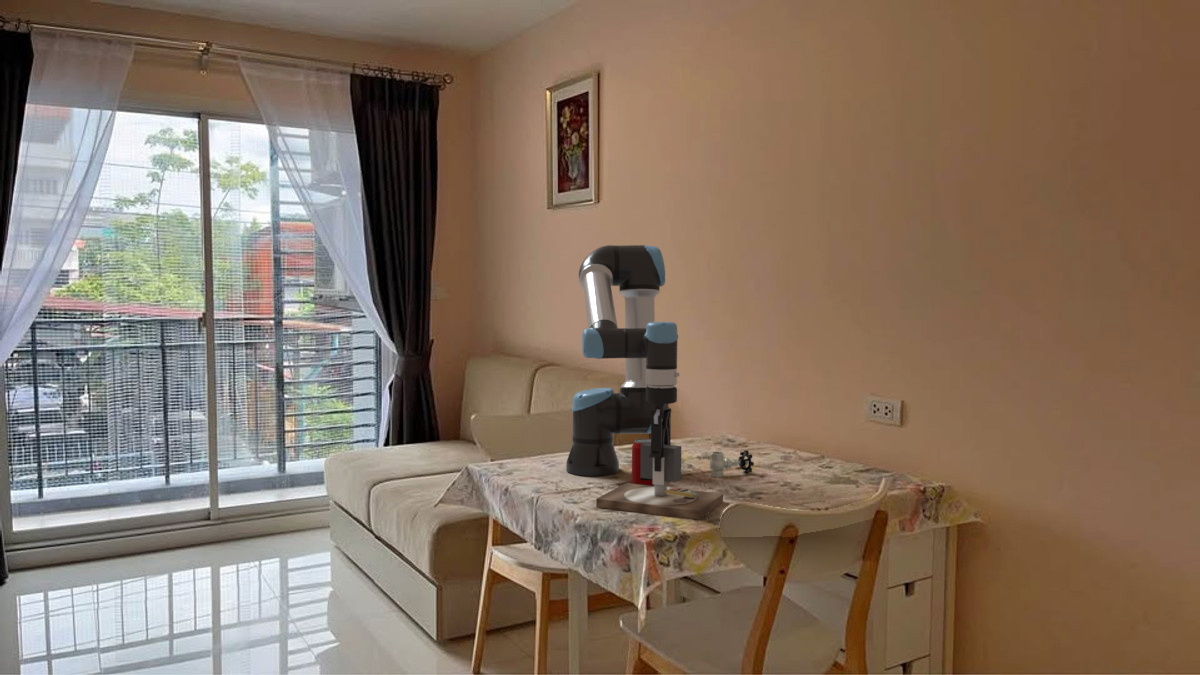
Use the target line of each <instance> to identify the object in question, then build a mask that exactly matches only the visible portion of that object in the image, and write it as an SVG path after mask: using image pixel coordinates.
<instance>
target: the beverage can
mask: <svg viewBox="0 0 1200 675" xmlns="http://www.w3.org/2000/svg"><path fill="white" fill-rule="evenodd" d="M648 442H649V443H651V438H636V439H635V440H634V442H633V443H632V446H631V484H639V485H648V486H654V484H653V479H647V478H640V468H641V445H642V444H645V443H648Z"/></svg>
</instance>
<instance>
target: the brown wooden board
mask: <svg viewBox="0 0 1200 675" xmlns="http://www.w3.org/2000/svg"><path fill="white" fill-rule="evenodd" d="M667 490H673V491H680V492H687V493H693V497H687V496H680V495H673V494H667V495H666V496H656V495H654V486H648V485H639V484H633V483H628V482H625V483H623V484H621V485H620V486H618V487H617V486H616V488H614V489H612V490H610V491H608V492H607V493H605V494H603V495H600V496H599V497H597V498H596V499H595V500H596V502H595V504H596V505H595V507H596V508H601V509H610V510H618V511H619V510H620V511H626V512H635V513H643V514H649V515H650V514H651V515H657V516H667V517H675V518H682V519H689V520H690V519H691V520H698V521H699V520H702V519H703V518H704V517H706V516H707V515H708V514H709V513H711V512H712V511H713V510H715V509H716V508H718V506H720V505H721V504H722V503H723V502H724V493H721V492H711V491H702V490H695V489H694V490H693V489H687V488H685V489H684V488H682V487H679V486H673V487H670V486H667ZM715 507H716V508H715ZM712 509H713V510H712ZM711 510H712V511H711ZM710 511H711V512H710ZM708 512H709V513H708ZM707 513H708V514H707ZM706 514H707V515H706ZM705 515H706V516H705Z"/></svg>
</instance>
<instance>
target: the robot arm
mask: <svg viewBox="0 0 1200 675" xmlns="http://www.w3.org/2000/svg"><path fill="white" fill-rule="evenodd" d="M663 256H664V255H663V253H662V251H661V250H660V248H659V247H658V246H654V245H645V244H642V245H633V244H632V245H631V244H630V245H613V244H608V245H603V246H600V247H598V248H596V249H594V250H593V251H592V252H590V253H589V254H588V255H587V256H586V257H585V258H584V260H583V261H582V263H581V264H580V268H579V270H578V281H579V282H578V284H579V286H580V287H581V289H582V290H583V294H584V303H585V311H586V312H585V313H586V321H587V328H584V329H582V332H581V333H582V335H581V350H582V355H583V357H584V358H587V359H598V360H600V359H625V367H624V368H625V369H624V370H625V381H624V382H623V383H622V384H621V386H620V388H619V389H620V391H619V392H615V391H614V389H613V388H611V387H598V388H591V389H585V390H581V391H578V392H576V393H575V394H574V396H573V397H572V408H571V412H572V432H571V433H572V439H571V440H572V443H571V447H570V451H569V453H568V457H567V460H566V462H565V463H566V464H565V467H566V468H565V471H566V472H567V473H569V474H572V475H577V476H587V477H588V476H589V477H591V476H592V477H599V476H608V475H614V474H616V473H619V471H620V462H619V458H618V455H617V452H616V450H615V447H614V435H626V434H627V435H628V434H629V435H630V434H633V435H634V434H635V435H641V434H642V435H643V434H644V435H646V434H650V439H651V455H649V457H652V458H653V484H656V485H664V455H663V452H664V444H667V445H672V444H671V440H672V438H671V435H672V433H671V432H672V431H671V430H672V429H671V428H672V427H671V426H672V425H671V424H672V423H671V418H672V416H671V415H672V408H670V407H669V405H670V404H671V405H672V404H675V403H677V401H678V388H677V387H676V385H678V384H677V383H678V377H680V373H679V372H677V371H678V339H679V335H678V334H679V333H678V325H677V324H676V322H674V321H673V322H672V321H655V317H656V316H655V314H656V313H655V298H656V297H657V295H658V294H659V293H660V291H661V290H660V287H661V288H662V287H663V286H664V285H665V283H666V269H665V268H666V267H665V260H664V257H663ZM612 286H613V287H619V288H618V289H619V293H620V295H622V297H623V298H624V328H623V327H622V328H621V327H620V328H618V322H617V315H616V309H615V304H614V296H613V292H612V291H613V290H612Z"/></svg>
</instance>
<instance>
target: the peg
mask: <svg viewBox="0 0 1200 675" xmlns="http://www.w3.org/2000/svg"><path fill="white" fill-rule="evenodd" d="M649 455H651V443H649V442H648V443H645V444H642V445H641V468H640V478H647V479H653V458H652V457H649ZM663 455H664V485H656V484H654V495H656V496H666V495H667V494H673V495H680V496H687V497H693V493H687V492H680V491H673V490H667V487H668V482H671V483H676V482H677V481H680V480H681V479H682V445H677V444H676V445H675V444H671V445H667V444H664V452H663Z"/></svg>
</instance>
